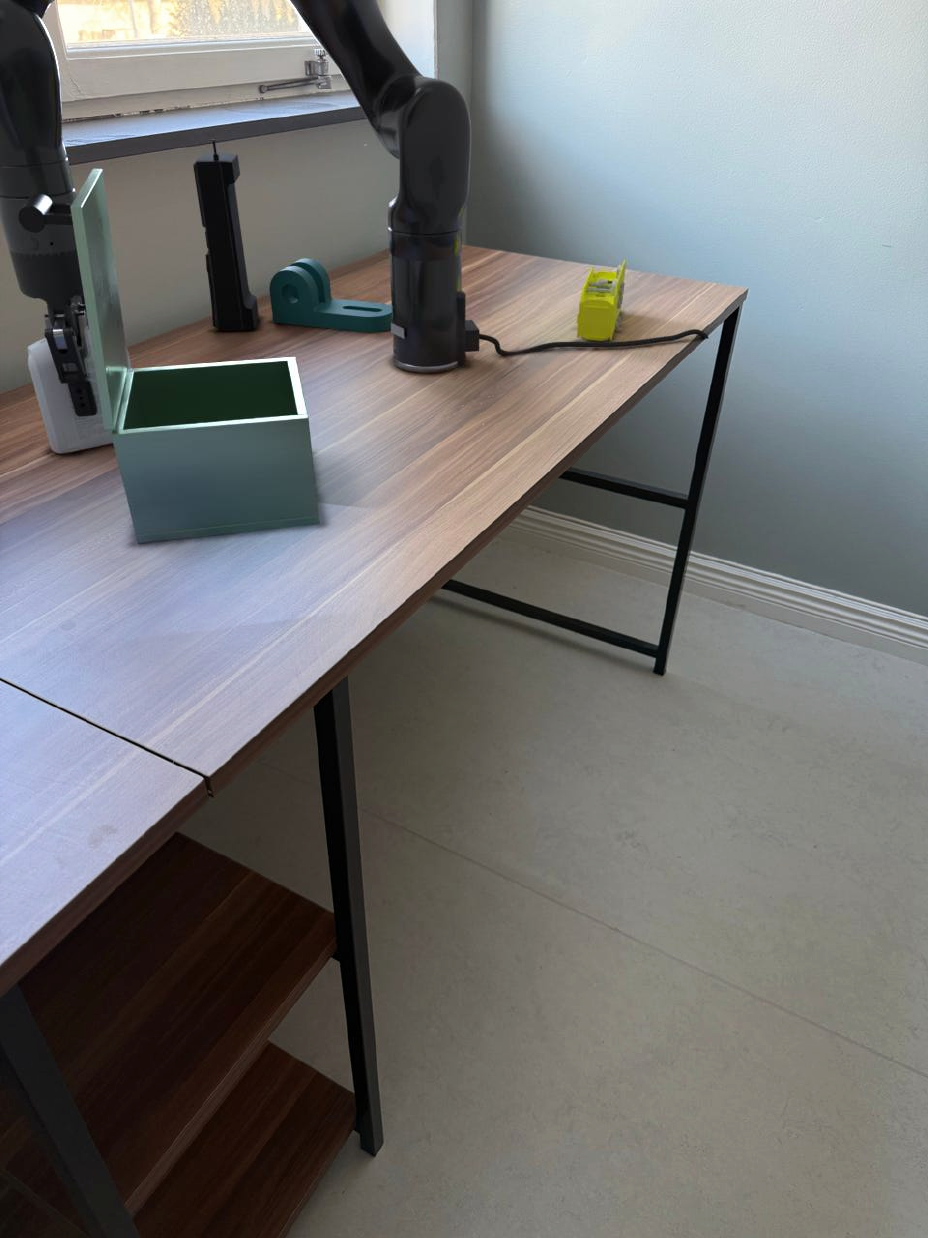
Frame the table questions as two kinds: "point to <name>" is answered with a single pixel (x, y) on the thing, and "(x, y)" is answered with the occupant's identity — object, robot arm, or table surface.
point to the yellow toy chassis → (601, 304)
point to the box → (215, 449)
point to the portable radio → (224, 242)
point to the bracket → (321, 302)
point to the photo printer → (65, 403)
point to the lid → (92, 280)
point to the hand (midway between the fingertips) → (90, 403)
